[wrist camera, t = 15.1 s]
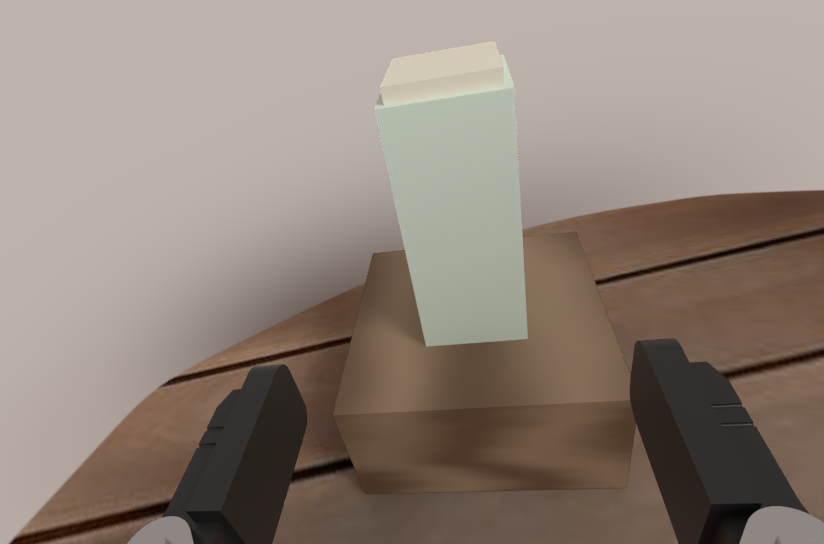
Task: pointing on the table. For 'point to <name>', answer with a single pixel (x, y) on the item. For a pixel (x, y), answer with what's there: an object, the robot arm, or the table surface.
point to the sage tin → (457, 190)
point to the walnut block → (488, 388)
